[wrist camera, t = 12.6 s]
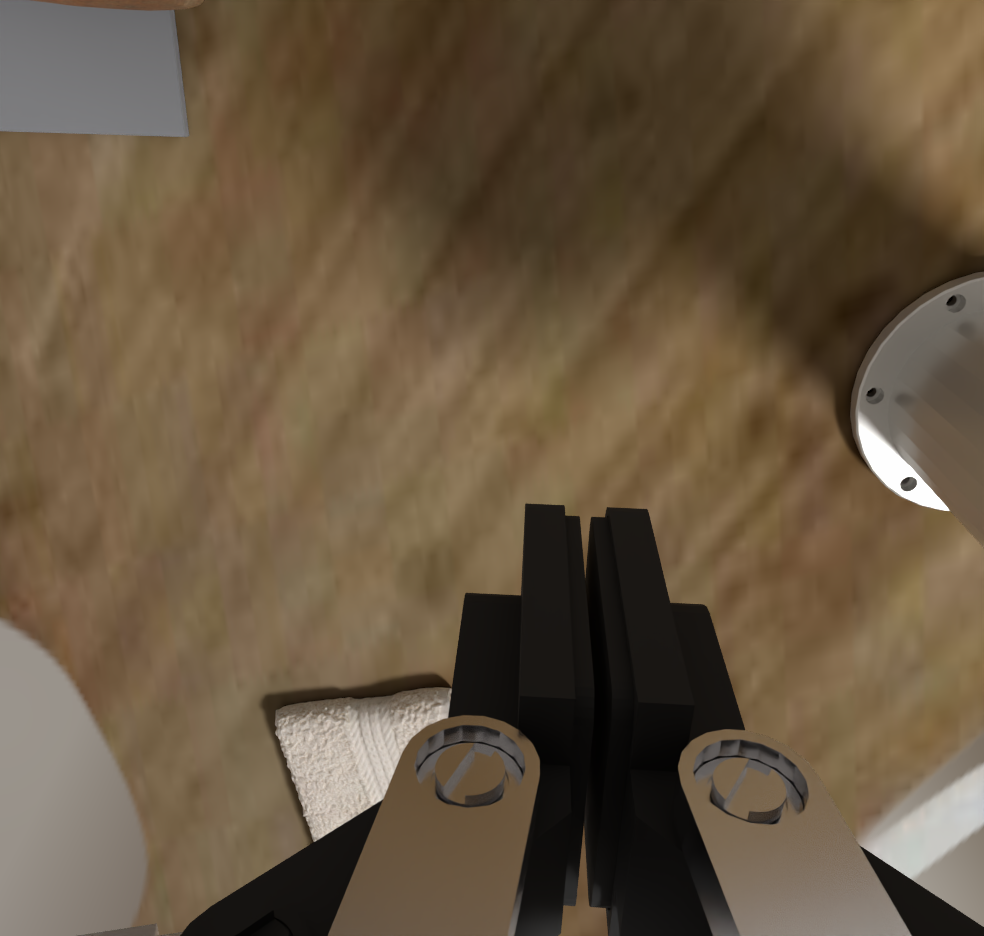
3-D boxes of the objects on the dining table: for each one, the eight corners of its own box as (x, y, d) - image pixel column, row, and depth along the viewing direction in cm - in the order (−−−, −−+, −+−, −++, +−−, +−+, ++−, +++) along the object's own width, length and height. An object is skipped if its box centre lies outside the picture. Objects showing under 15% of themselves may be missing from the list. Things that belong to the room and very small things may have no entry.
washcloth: (345, 888, 63) (336, 927, 60) (272, 695, 55) (258, 729, 52) (506, 873, 61) (504, 912, 58) (453, 673, 54) (449, 706, 51)
